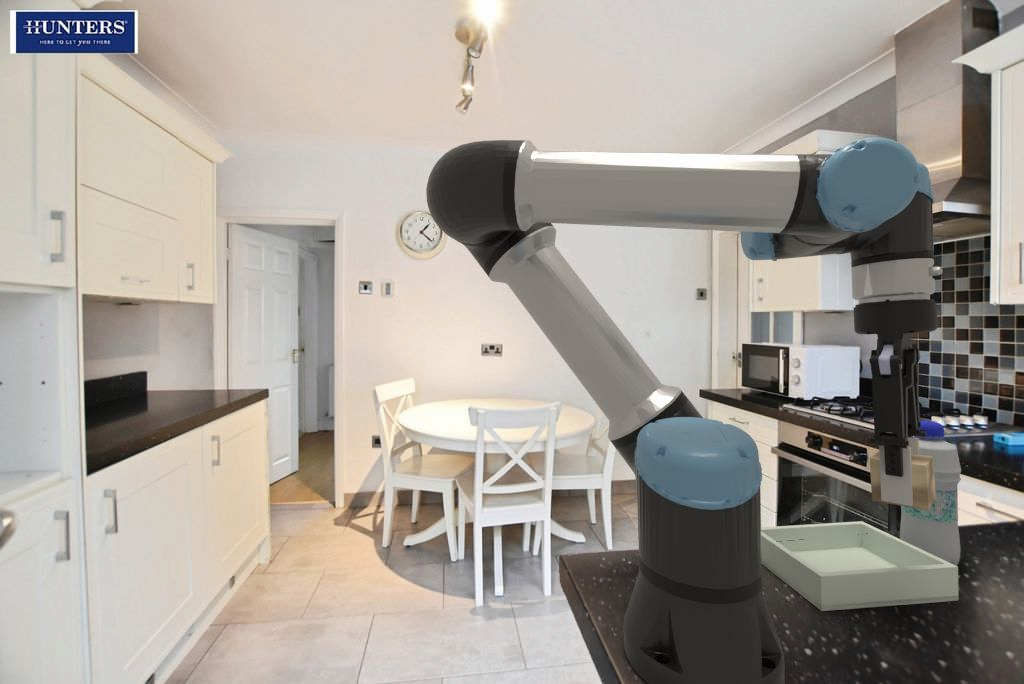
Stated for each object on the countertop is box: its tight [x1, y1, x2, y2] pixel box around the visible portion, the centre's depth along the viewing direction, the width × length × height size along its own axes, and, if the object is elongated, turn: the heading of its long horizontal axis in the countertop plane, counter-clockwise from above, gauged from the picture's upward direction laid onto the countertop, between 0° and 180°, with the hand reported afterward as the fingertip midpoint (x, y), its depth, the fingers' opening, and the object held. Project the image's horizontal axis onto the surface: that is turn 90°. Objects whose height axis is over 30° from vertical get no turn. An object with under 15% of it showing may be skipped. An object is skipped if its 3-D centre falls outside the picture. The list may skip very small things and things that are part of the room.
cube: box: [869, 450, 936, 511], centre depth 53 cm, size 5×5×5 cm
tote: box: [761, 520, 959, 612], centre depth 61 cm, size 18×14×4 cm
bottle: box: [899, 420, 962, 567], centre depth 64 cm, size 7×7×20 cm
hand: (901, 495), depth 54 cm, fingers closed on cube, 5 cm apart
